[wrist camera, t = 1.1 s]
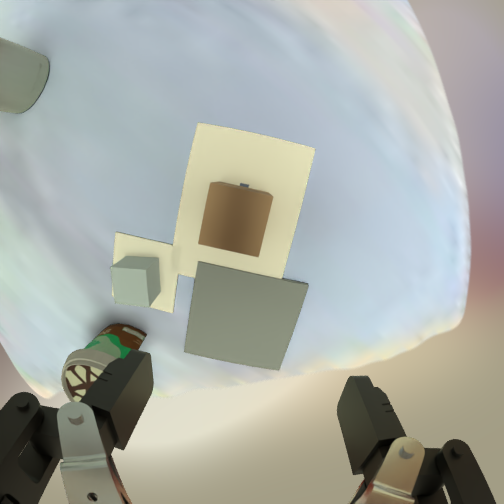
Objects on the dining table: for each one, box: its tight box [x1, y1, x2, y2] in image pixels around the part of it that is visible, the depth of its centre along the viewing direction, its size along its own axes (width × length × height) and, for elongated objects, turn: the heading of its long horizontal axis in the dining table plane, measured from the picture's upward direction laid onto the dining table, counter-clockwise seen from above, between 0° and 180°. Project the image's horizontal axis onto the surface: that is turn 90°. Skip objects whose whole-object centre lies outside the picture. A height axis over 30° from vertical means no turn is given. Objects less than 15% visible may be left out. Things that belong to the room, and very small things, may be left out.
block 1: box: [110, 256, 161, 307], centre depth 27 cm, size 4×4×4 cm
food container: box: [61, 323, 147, 402], centre depth 27 cm, size 12×6×10 cm, turn 139°
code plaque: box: [169, 123, 315, 279], centre depth 27 cm, size 12×16×1 cm
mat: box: [184, 261, 309, 370], centre depth 31 cm, size 12×12×1 cm
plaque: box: [112, 232, 181, 313], centre depth 29 cm, size 8×8×1 cm
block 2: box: [198, 181, 273, 257], centre depth 24 cm, size 5×5×6 cm
